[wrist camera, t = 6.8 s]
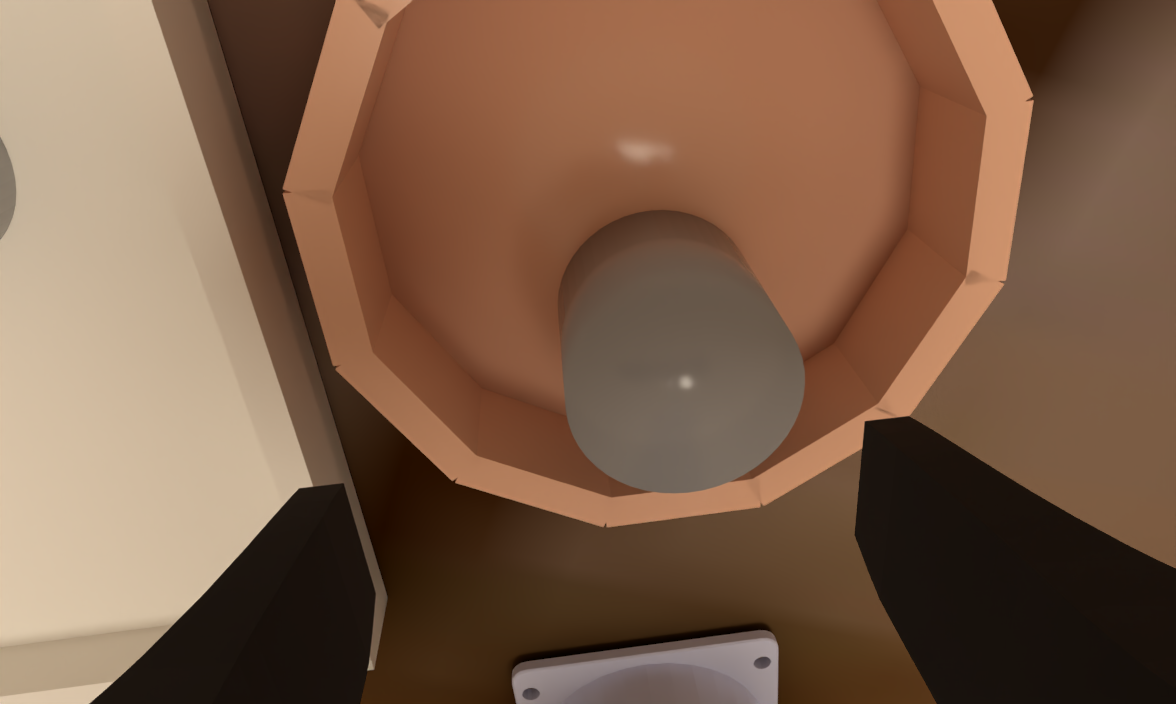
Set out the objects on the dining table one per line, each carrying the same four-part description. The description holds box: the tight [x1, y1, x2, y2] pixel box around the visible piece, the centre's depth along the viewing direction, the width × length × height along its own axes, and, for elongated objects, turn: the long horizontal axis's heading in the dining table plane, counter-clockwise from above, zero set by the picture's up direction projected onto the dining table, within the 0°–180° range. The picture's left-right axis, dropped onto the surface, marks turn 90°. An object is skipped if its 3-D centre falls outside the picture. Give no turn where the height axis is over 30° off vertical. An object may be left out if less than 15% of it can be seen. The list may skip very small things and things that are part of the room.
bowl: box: [283, 0, 1034, 527], centre depth 16 cm, size 13×13×4 cm
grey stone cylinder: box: [557, 210, 805, 493], centre depth 17 cm, size 4×4×4 cm
